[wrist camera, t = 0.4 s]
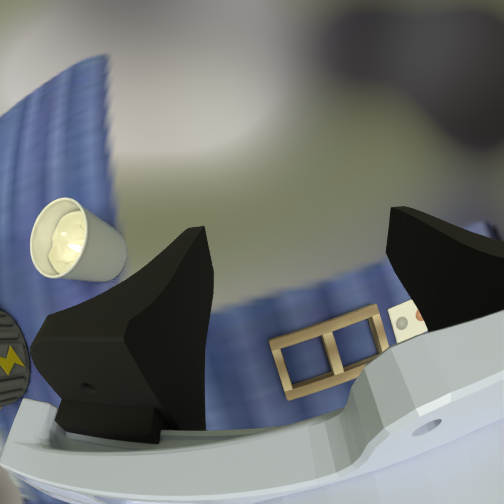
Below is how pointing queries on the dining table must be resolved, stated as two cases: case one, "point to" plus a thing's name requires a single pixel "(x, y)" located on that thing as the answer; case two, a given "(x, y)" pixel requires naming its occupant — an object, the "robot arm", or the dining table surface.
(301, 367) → the dining table surface
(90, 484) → the robot arm
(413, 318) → the key card
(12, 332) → the decorative lamp
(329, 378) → the tan frame
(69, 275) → the candle holder
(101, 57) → the dining table surface
